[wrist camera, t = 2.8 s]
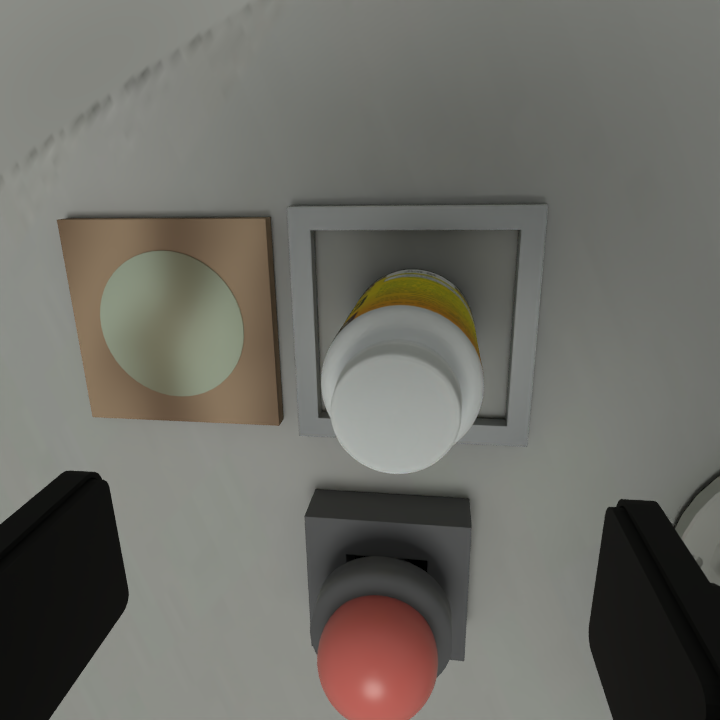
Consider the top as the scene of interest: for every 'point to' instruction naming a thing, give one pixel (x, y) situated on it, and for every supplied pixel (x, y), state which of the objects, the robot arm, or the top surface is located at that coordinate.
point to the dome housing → (393, 541)
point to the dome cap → (380, 637)
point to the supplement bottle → (404, 373)
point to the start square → (421, 218)
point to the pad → (176, 317)
